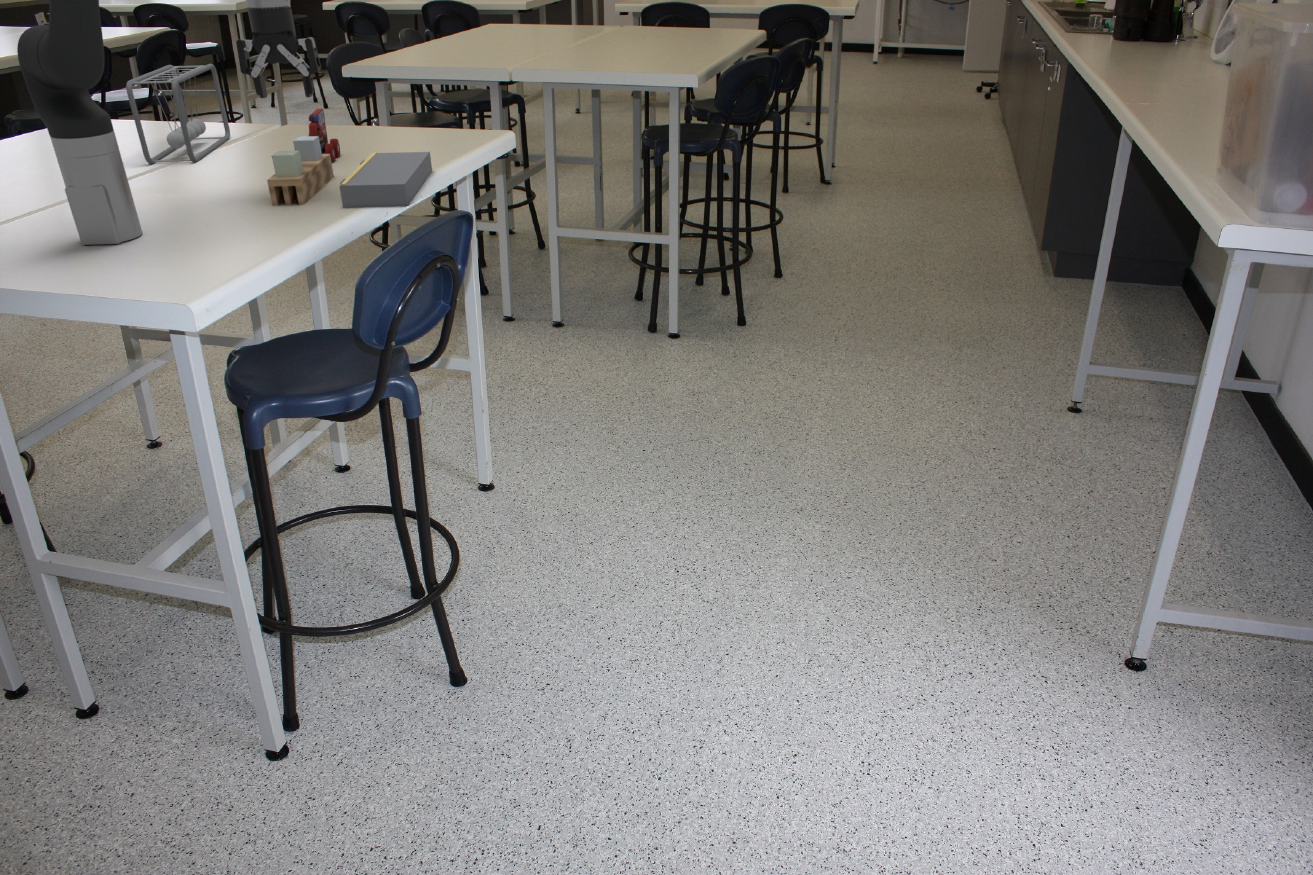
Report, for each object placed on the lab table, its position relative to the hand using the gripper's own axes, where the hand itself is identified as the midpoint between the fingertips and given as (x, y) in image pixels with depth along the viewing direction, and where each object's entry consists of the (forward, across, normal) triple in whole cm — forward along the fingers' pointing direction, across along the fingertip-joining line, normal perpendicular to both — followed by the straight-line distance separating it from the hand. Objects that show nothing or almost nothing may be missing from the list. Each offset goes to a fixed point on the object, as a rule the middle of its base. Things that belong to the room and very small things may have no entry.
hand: (286, 97), depth 180 cm
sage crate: (+13, 0, -7) cm, 15 cm away
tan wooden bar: (+18, 0, 0) cm, 18 cm away
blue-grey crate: (+13, 0, +7) cm, 15 cm away
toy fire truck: (+18, -4, +28) cm, 33 cm away
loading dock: (+18, +17, 0) cm, 25 cm away
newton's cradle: (+18, -38, +41) cm, 59 cm away
